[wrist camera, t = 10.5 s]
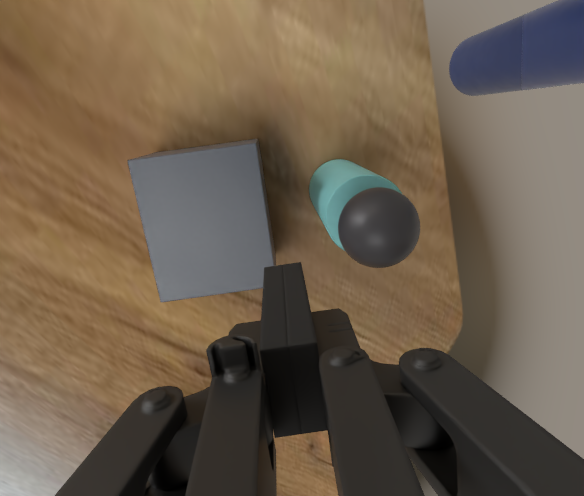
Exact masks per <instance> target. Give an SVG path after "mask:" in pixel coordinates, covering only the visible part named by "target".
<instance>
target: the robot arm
mask: <svg viewBox="0 0 584 496" xmlns="http://www.w3.org/2000/svg"><path fill="white" fill-rule="evenodd" d="M206 351H207V356H208V360H209V365H210V370H211V374H212V381H211V385H210V387H208V388H206V389H205V390H203V391H200V392H198V393H195V394H192V395H189V396H187V397H183V393H182V390H180V389H179V388H177V387H172V386H164V387H157V388H155V389H154V388H153V389H151V390H149V391H147V392H145V393H143V394H142V395H140V396H139V397H138V398H137V399H135V400H134V401H133V402H132V403H131V405H130V406H129V407H128V408H127V409H126V411H125V412H124V413H123V414H122V415H121V417H120V418H119V419H118V420H117V421H116V423H115V424H114V425H113V426H112V428H111V429H110V430H109V431H108V432H107V434H106V435H105V436H104V437H103V438H102V440H101V441H100V442H99V443H98V444H97V446H96V447H95V448H94V449H93V450H92V452H91V453H90V454H89V455H88V456H87V458H86V459H85V460H84V461H83V462H82V464H81V465H80V466H79V467H78V468H77V470H76V471H75V472H74V473H73V474H72V476H71V477H70V478H69V479H68V480H67V482H66V483H65V484H64V485H63V486H62V488H61V489H60V490H59V491H58V492H57V494H56V495H55V496H276V449H275V444H274V438H273V430H274V435H275V438H276V437H283V436H290V435H297V434H304V433H311V432H318V431H325V430H328V435H329V443H330V451H331V458H332V466H333V467H334V472H335V478H336V484H337V489H338V495H339V496H424V493H423V491H422V488H421V486H420V483H419V481H418V478H417V476H416V473H415V471H414V468H413V466H412V463H411V461H410V459H411V460H412V461H413V463H414V464H415V465H416V467H417V468H418V469H419V471H420V472H421V473H422V475H423V476H424V477H425V478H426V480H427V481H428V482H429V484H430V485H431V486H432V488H433V489H434V490H435V492H436V493H437V494H438V496H584V459H582V458H581V457H580V456H579V455H577V454H576V453H575V452H573V451H572V450H571V449H570V448H568V447H567V446H566V445H564V444H563V443H562V442H560V441H559V440H558V439H557V438H555V437H554V436H553V435H551V434H550V433H549V432H547V431H546V430H545V429H544V428H543V427H541V426H540V425H539V424H537V423H536V422H535V421H533V420H532V419H531V418H530V417H528V416H527V415H526V414H524V413H523V412H522V411H521V410H519V409H518V408H517V407H515V406H514V405H513V404H511V403H510V402H509V401H507V400H506V399H505V398H503V397H502V396H501V395H500V394H499V393H497V392H496V391H495V390H493V389H492V388H491V387H489V386H488V385H487V384H486V383H484V382H483V381H482V380H480V379H479V378H478V377H477V376H475V375H474V374H473V373H471V372H470V371H469V370H467V369H466V368H465V367H464V366H462V365H461V364H460V363H458V362H457V361H456V360H455V359H453V358H452V357H450V356H449V355H448V354H446V353H444V352H442V351H439V350H435V349H431V348H419V349H413V350H410V351H408V352H406V353H404V354H403V355H402V356H401V357H400V359H399V365H393V364H382V363H378V362H374V361H372V360H370V359H369V356H368V354H367V353H366V352H365V351H364V350H362V349H360V346H359V344H358V341H357V338H356V336H355V333H354V331H353V328H352V325H351V323H350V320H349V318H348V315H347V314H346V313H345V312H343V311H342V310H340V309H339V308H338V309H331V310H324V311H317V312H311V310H310V305H309V300H308V295H307V290H306V285H305V280H304V275H303V270H302V265H301V262H299V263H292V264H285V265H278V266H270V267H264V281H263V298H262V316H261V321H255V322H248V323H240V324H236V325H235V326H234V327H233V329H232V330H231V331H230V332H229V336H225V337H222V338H220V339H218V340H216V341H214V342H213V343H212V344H210V345H209V347H208V348H207V350H206Z"/></svg>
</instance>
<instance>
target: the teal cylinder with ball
mask: <svg viewBox="0 0 584 496" xmlns="http://www.w3.org/2000/svg"><path fill="white" fill-rule="evenodd" d="M309 195H310V199H311V202H312V204H313V206H314V207H315V209H316V211H317V213H318V215H319V217H320V219H321V220H322V222H323V224H324V226H325V228H326V230H327V232H328V233H329V235H330V237H331V238H332V240H333V241H334V242H335V244H336V245H338V246H339V247H340V248H341V249H343V250H344V251H346V252H347V254H348V255H349V256H350V257H351V258H352V259H354V260H355V261H357V262H358V263H360V264H362V265H365V266H368V267H373V268H384V267H389V266H392V265H395V264H397V263H399V262H401V261H402V260H404V259H405V258H406V257H407V256H408V255H409V254H410V253H411V252H412V251H413V249H414V248H415V246H416V244H417V241H418V238H419V234H420V221H419V216H418V213H417V211H416V209H415V207H414V205H413V204H412V203H411V202H410V201H409V199H408V198H407V197H405V196H404V195H403V194H402V193H401V191H400V190H399V189H398V187H397V186H396V185H395V184H393V183H392V182H391V181H389V180H388V179H386V178H384V177H382V176H380V175H377V174H375V173H373V172H371V171H369V170H367V169H365V168H363V167H361V166H359V165H357V164H355V163H353V162H351V161H348V160H344V159H335V160H331V161H328V162H326V163H324V164H323V165H321V166H320V167H319V168H318V169H317V170H316V171H315V173H314V174H313V176H312V178H311V181H310V185H309Z"/></svg>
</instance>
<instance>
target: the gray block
mask: <svg viewBox="0 0 584 496" xmlns="http://www.w3.org/2000/svg"><path fill="white" fill-rule="evenodd" d="M128 165H129V170H130V174H131V178H132V182H133V187H134V191H135V195H136V199H137V203H138V208H139V212H140V216H141V220H142V225H143V229H144V233H145V237H146V242H147V246H148V250H149V254H150V258H151V263H152V267H153V271H154V275H155V280H156V284H157V288H158V292H159V297H160V301H161V302H167V301H174V300H181V299H189V298H196V297H203V296H210V295H217V294H224V293H231V292H238V291H245V290H253V289H260V288H263V281H264V267H270V266H276V255H275V248H274V241H273V234H272V227H271V221H270V214H269V207H268V200H267V194H266V187H265V180H264V173H263V166H262V160H261V153H260V146H259V139H251V140H243V141H236V142H228V143H221V144H214V145H206V146H199V147H191V148H184V149H177V150H169V151H162V152H156V153H152V154H148V155H145V156H141V157H138V158H134V159H131V160H128Z"/></svg>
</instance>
